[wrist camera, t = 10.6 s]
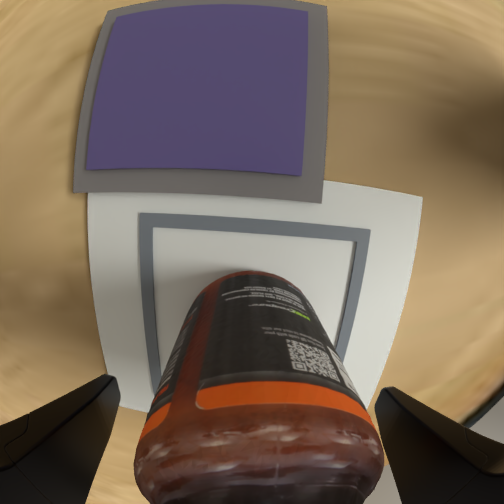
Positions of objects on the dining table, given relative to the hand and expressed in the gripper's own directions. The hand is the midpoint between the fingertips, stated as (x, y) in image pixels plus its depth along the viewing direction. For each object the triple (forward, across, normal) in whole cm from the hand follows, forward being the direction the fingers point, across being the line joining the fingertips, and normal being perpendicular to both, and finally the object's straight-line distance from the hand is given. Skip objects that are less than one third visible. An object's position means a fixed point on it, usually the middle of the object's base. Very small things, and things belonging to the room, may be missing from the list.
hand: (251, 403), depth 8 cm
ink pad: (+6, +3, -11) cm, 13 cm away
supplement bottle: (+5, 0, 0) cm, 5 cm away
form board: (+6, 0, 0) cm, 6 cm away
